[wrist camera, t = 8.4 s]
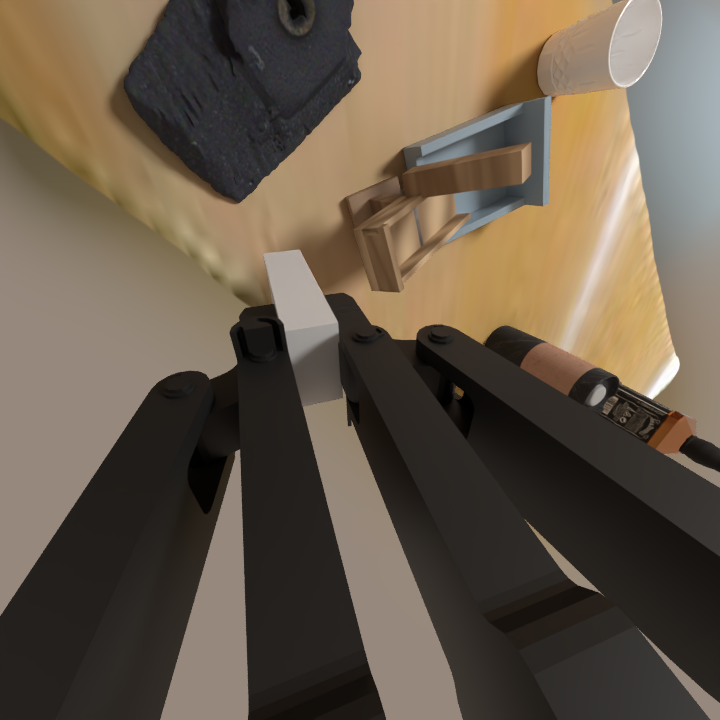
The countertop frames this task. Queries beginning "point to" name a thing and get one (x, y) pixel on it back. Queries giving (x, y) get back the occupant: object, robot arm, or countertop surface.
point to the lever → (431, 212)
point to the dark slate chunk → (242, 82)
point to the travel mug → (555, 367)
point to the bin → (491, 134)
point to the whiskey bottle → (659, 427)
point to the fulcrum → (372, 200)
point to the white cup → (601, 50)
